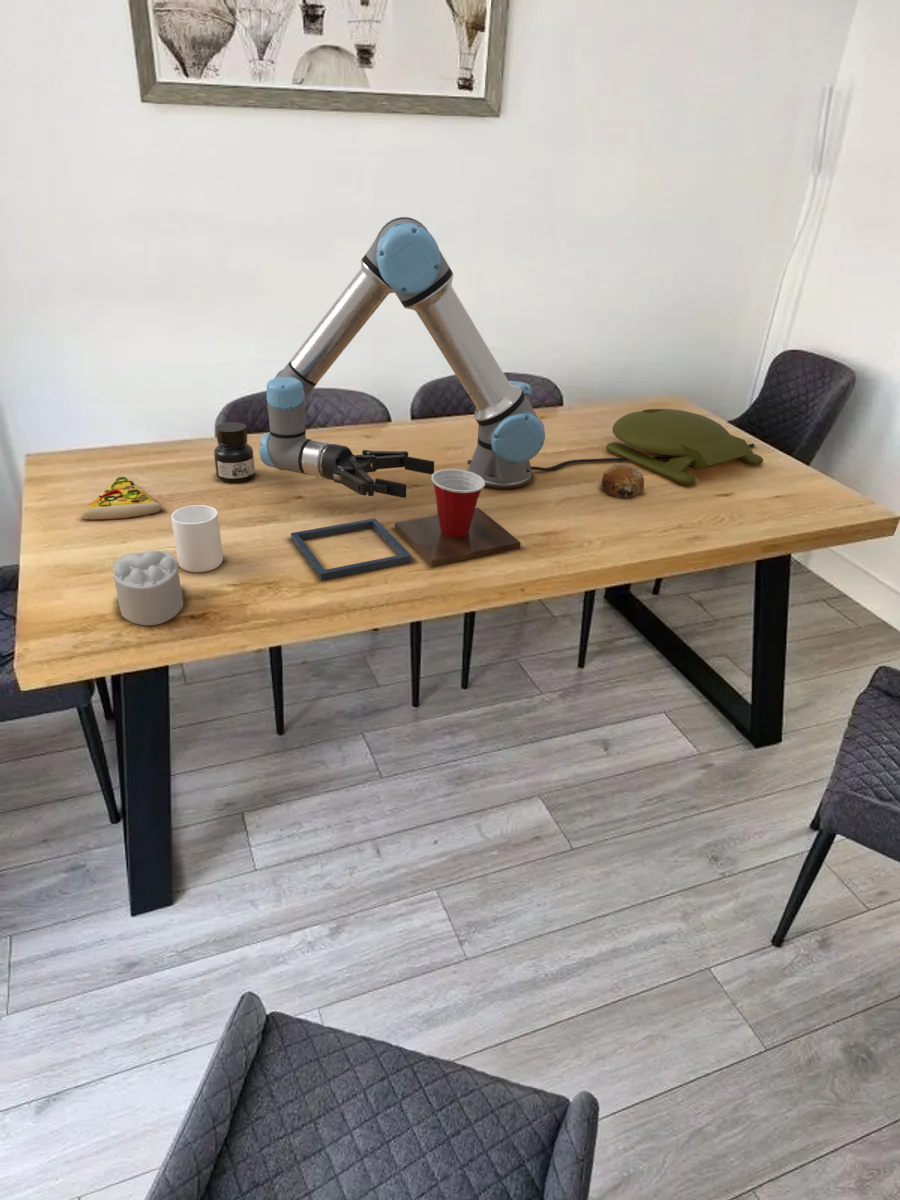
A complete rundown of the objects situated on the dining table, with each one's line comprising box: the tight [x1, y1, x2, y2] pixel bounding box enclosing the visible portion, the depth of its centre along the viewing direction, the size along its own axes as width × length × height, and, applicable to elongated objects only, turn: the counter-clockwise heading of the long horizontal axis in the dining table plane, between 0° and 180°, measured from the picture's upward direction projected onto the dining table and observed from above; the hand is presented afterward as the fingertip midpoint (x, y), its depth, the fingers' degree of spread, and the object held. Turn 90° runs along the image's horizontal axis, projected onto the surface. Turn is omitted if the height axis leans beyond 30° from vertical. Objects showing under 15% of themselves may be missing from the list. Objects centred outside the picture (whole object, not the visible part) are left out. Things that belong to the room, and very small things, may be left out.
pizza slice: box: [81, 476, 162, 520], centre depth 179 cm, size 16×21×3 cm
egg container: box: [112, 549, 184, 626], centre depth 141 cm, size 10×13×9 cm
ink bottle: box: [213, 421, 256, 483], centre depth 190 cm, size 10×9×12 cm
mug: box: [170, 504, 224, 574], centre depth 155 cm, size 12×8×10 cm
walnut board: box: [393, 507, 521, 568], centre depth 169 cm, size 20×18×2 cm
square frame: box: [290, 517, 412, 581], centre depth 163 cm, size 18×18×2 cm
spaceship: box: [605, 408, 764, 486], centre depth 214 cm, size 35×31×10 cm
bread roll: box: [601, 463, 645, 499], centre depth 194 cm, size 10×10×8 cm
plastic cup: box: [431, 468, 485, 538], centre depth 166 cm, size 11×11×12 cm
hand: (420, 479), depth 166 cm, fingers open, 13 cm apart
